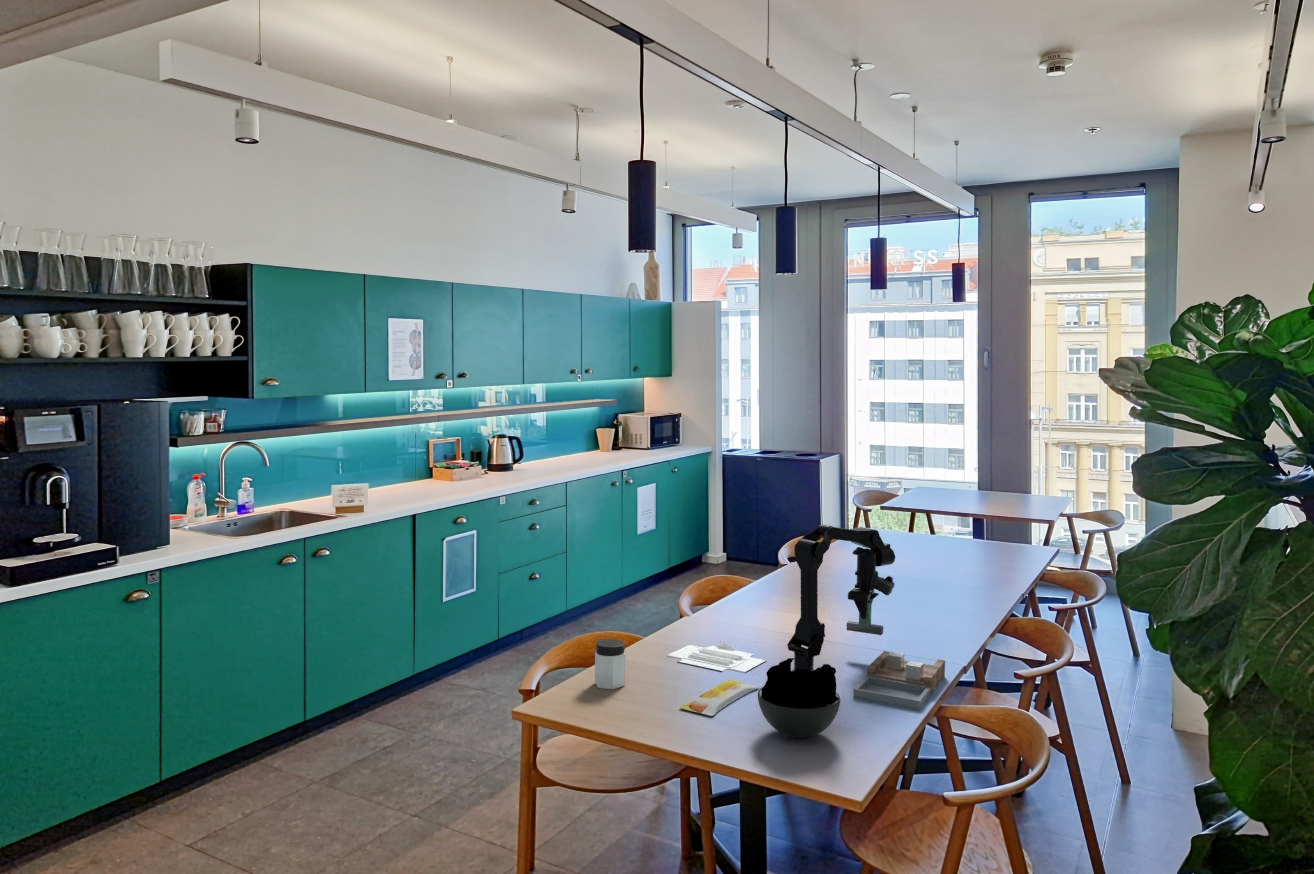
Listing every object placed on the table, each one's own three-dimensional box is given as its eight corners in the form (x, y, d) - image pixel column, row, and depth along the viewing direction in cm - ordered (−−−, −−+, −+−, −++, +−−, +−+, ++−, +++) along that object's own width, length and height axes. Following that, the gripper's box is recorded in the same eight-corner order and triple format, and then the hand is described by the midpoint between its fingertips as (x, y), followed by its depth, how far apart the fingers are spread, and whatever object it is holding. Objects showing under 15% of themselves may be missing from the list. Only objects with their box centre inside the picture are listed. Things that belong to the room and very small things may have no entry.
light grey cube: (919, 680, 252) (920, 666, 251) (905, 678, 254) (905, 664, 253) (923, 676, 255) (923, 663, 255) (908, 674, 257) (909, 660, 257)
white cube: (900, 670, 261) (900, 656, 260) (886, 668, 263) (887, 654, 262) (904, 666, 264) (904, 653, 264) (890, 664, 266) (890, 651, 266)
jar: (627, 688, 252) (627, 646, 251) (598, 690, 250) (599, 648, 249) (620, 678, 260) (621, 637, 259) (593, 680, 258) (593, 639, 257)
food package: (729, 675, 258) (760, 682, 253) (728, 683, 259) (760, 690, 253) (678, 703, 236) (711, 711, 230) (678, 711, 236) (711, 720, 230)
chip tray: (919, 710, 237) (919, 701, 237) (853, 697, 246) (853, 689, 246) (930, 695, 248) (931, 686, 248) (866, 684, 257) (866, 675, 257)
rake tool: (880, 635, 277) (881, 605, 277) (846, 630, 282) (846, 600, 282) (883, 633, 280) (884, 603, 279) (849, 628, 285) (849, 598, 284)
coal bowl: (740, 732, 221) (741, 657, 220) (794, 713, 234) (795, 642, 233) (802, 758, 206) (803, 678, 205) (856, 737, 219) (858, 661, 218)
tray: (740, 678, 263) (740, 665, 263) (660, 664, 279) (660, 652, 279) (771, 660, 280) (771, 648, 280) (694, 648, 296) (694, 637, 296)
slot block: (930, 695, 249) (931, 677, 248) (867, 683, 258) (867, 666, 257) (944, 677, 264) (945, 660, 264) (883, 666, 273) (884, 650, 273)
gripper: (884, 576, 268) (882, 628, 269) (899, 565, 284) (898, 614, 285) (847, 572, 273) (846, 622, 274) (864, 562, 289) (863, 609, 290)
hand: (865, 617), depth 281 cm, fingers closed on rake tool, 3 cm apart
